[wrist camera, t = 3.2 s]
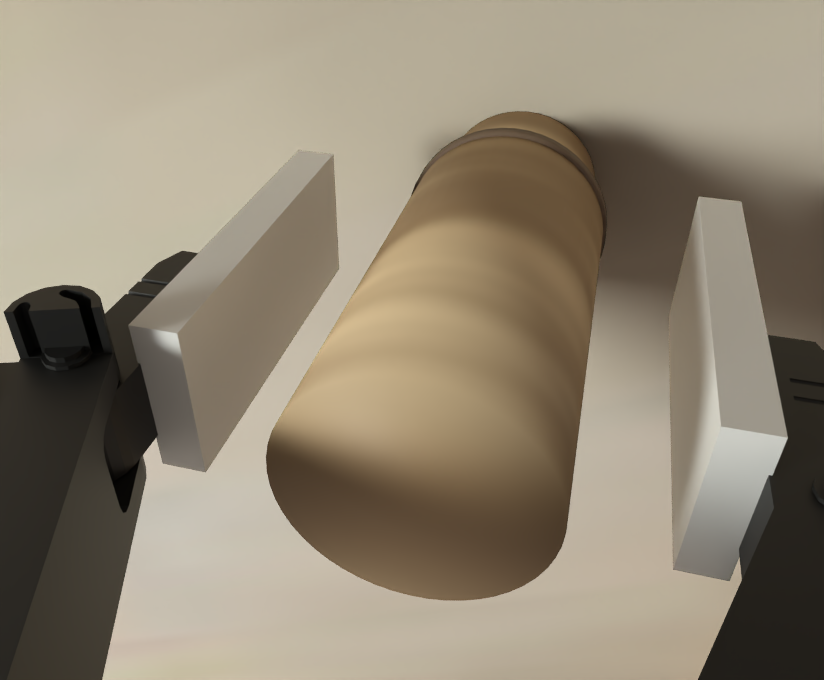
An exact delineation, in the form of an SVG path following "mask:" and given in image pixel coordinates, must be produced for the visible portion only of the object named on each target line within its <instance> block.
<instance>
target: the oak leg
mask: <svg viewBox="0 0 824 680" xmlns="http://www.w3.org/2000/svg"><path fill="white" fill-rule="evenodd" d="M606 229H607V213H606V207H605V202H604V198H603V195H602V192H601V189H600V187H599V185H598V183H597V181H596V179H595V173H594V168H593V164H592V161H591V158H590V156H589V154H588V152H587V150H586V148H585V147H584V145H583V144H582V142H581V141H580V139H579V138H578V137H577V136H576V135H575V134H574V133H573V132H572V131H571V130H569V129H568V128H567V127H566V126H564V125H563V124H561V123H559V122H558V121H556V120H554V119H552V118H549V117H547V116H544V115H541V114H537V113H531V112H518V111H517V112H507V113H502V114H498V115H495V116H492V117H490V118H487V119H485V120H483V121H482V122H480V123H478V124H477V125H475V126H474V127H473V128H471V129H470V130H469V131H468V132H467V133H466V134H465V135H464V136H462V137H460V138H458V139H457V140H455V141H453V142H451V143H450V144H448V145H447V146H446V147H444V148H443V149H441V150H440V151H439V152H438V153H437V154H436V155H435V156H434V157H433V158H432V159H431V161H430V162H429V163H428V165H427V166H426V167H425V169H424V170H423V172H422V174H421V175H420V177H419V179H418V181H417V182H416V185H415V187H414V190H413V192H412V195H411V198H410V200H409V201H408V203H407V205H406V206H405V208H404V210H403V211H402V213H401V215H400V216H399V218H398V220H397V221H396V223H395V225H394V226H393V228H392V230H391V231H390V233H389V235H388V236H387V238H386V240H385V241H384V243H383V245H382V247H381V248H380V250H379V252H378V253H377V255H376V257H375V258H374V260H373V262H372V263H371V265H370V267H369V268H368V270H367V272H366V273H365V275H364V277H363V278H362V280H361V282H360V283H359V285H358V287H357V288H356V290H355V292H354V294H353V295H352V297H351V299H350V300H349V302H348V304H347V305H346V307H345V309H344V310H343V312H342V314H341V315H340V317H339V319H338V320H337V322H336V324H335V325H334V327H333V329H332V330H331V332H330V334H329V336H328V337H327V339H326V341H325V342H324V344H323V346H322V347H321V349H320V351H319V352H318V354H317V356H316V357H315V359H314V361H313V362H312V364H311V366H310V367H309V369H308V371H307V372H306V374H305V376H304V377H303V379H302V381H301V383H300V384H299V386H298V388H297V389H296V391H295V393H294V394H293V396H292V398H291V399H290V401H289V403H288V404H287V406H286V408H285V409H284V411H283V413H282V414H281V416H280V418H279V419H278V421H277V423H276V425H275V427H274V428H273V430H272V433H271V436H270V439H269V442H268V446H267V454H266V464H267V474H268V478H269V483H270V486H271V489H272V492H273V494H274V497H275V499H276V501H277V503H278V505H279V506H280V508H281V510H282V512H283V513H284V515H285V516H286V518H287V519H288V520H289V522H290V523H291V525H292V526H293V527H294V528H295V529H296V530H297V531H298V533H299V534H300V535H301V536H302V537H303V538H304V539H305V540H306V541H307V542H308V543H309V544H310V545H311V546H313V547H314V548H315V549H316V550H317V551H319V552H320V553H321V554H322V555H324V556H325V557H326V558H328V559H329V560H331V561H332V562H334V563H335V564H337V565H338V566H340V567H341V568H343V569H345V570H346V571H348V572H350V573H352V574H354V575H356V576H357V577H360V578H362V579H364V580H366V581H368V582H371V583H373V584H375V585H378V586H381V587H384V588H387V589H389V590H392V591H396V592H400V593H403V594H407V595H411V596H417V597H422V598H428V599H438V600H474V599H482V598H488V597H493V596H497V595H500V594H504V593H507V592H510V591H512V590H515V589H517V588H519V587H522V586H524V585H525V584H527V583H529V582H530V581H532V580H533V579H535V578H536V577H538V576H539V575H540V574H541V573H542V572H543V571H545V570H546V569H547V568H548V566H549V565H550V564H551V563H552V562H553V560H554V559H555V558H556V556H557V554H558V552H559V550H560V549H561V547H562V544H563V541H564V538H565V534H566V530H567V521H568V513H569V505H570V497H571V489H572V481H573V473H574V465H575V457H576V449H577V440H578V432H579V424H580V416H581V408H582V400H583V392H584V384H585V376H586V368H587V359H588V351H589V343H590V335H591V327H592V319H593V311H594V303H595V295H596V287H597V278H598V270H599V262H600V258H601V255H602V252H603V248H604V244H605V238H606Z"/></svg>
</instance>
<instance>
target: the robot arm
mask: <svg viewBox="0 0 824 680" xmlns="http://www.w3.org/2000/svg"><path fill="white" fill-rule="evenodd" d="M338 269H339V257H338V237H337V217H336V198H335V178H334V158H333V154H328V153H319V152H310V151H302V150H298V151H297V152H296V153H295V154H294V155H293V156H292V158H291V159H290V160H289V161H288V162H287V163H286V164H285V165H284V166H283V167H282V168H281V169H280V170H279V171H278V172H277V173H276V174H275V175H274V176H273V177H272V178H271V179H270V180H269V181H268V182H267V183H266V184H265V185H264V186H263V187H262V188H261V189H260V190H259V191H258V192H257V193H256V194H255V196H254V197H253V198H252V199H251V200H250V201H249V202H248V203H247V204H246V205H245V206H244V207H243V208H242V209H241V210H240V211H239V212H238V213H237V214H236V215H235V216H234V217H233V218H232V219H231V220H230V221H229V222H228V223H227V224H226V225H225V226H224V227H223V228H222V229H221V230H220V231H219V232H218V234H217V235H216V236H215V237H214V238H213V239H212V240H211V241H210V242H209V243H208V244H207V245H206V246H205V247H204V248H203V249H202V250H201V251H200V252H199V253H193V252H186V251H181V252H179V253H177V254H175V255H173V256H171V257H169V258H167V259H165V260H163V261H161V262H159V263H157V264H156V265H155V266H154V267H153V268H152V269H151V270H150V271H149V272H148V273H147V274H146V275H145V276H144V277H143V278H142V281H141V282H138V283H137V284H136V285H135V286H134V287H132V288H131V289H130V290H129V294H128V295H127V294H125V295H124V296H123V297H122V298H121V299H120V300H119V301H118V302H117V303H116V304H115V305H114V306H113V307H112V308H111V309H110V310H109V311H108V312H107V313H105V314H104V310H103V306H102V303H101V299H100V297H99V296H98V295H97V294H96V293H95V292H94V291H93V290H90V289H88V288H85V287H82V286H70V285H61V286H54V287H47V288H43V289H40V290H37V291H34V292H31V293H28V294H26V295H24V296H23V297H21V298H19V299H18V300H16V301H14V302H13V303H12V304H11V305H10V306H9V307H8V308H7V309H6V310H5V311H4V314H5V317H6V320H7V323H8V325H9V328H10V331H11V334H12V337H13V339H14V342H15V345H16V348H17V350H18V353H19V356H20V361H19V362H14V363H0V680H102V677H103V673H104V668H105V664H106V659H107V654H108V650H109V645H110V641H111V636H112V632H113V627H114V623H115V618H116V613H117V609H118V604H119V600H120V595H121V591H122V586H123V581H124V577H125V572H126V568H127V563H128V559H129V554H130V550H131V545H132V540H133V536H134V531H135V527H136V522H137V518H138V513H139V508H140V504H141V499H142V495H143V490H144V486H145V481H146V466H145V462H144V459H143V454H144V453H145V451H146V450H147V449H148V447H149V446H150V445H151V443H152V442H153V441H154V440H155V438H157V442H158V446H159V450H160V454H161V458H162V462H163V464H168V465H173V466H178V467H183V468H188V469H192V470H197V471H202V472H206V471H207V470H208V468H209V467H210V465H211V463H212V462H213V460H214V459H215V457H216V456H217V454H218V453H219V451H220V450H221V448H222V447H223V445H224V444H225V442H226V441H227V439H228V438H229V436H230V434H231V433H232V431H233V430H234V428H235V427H236V425H237V424H238V422H239V421H240V419H241V418H242V416H243V415H244V413H245V412H246V410H247V408H248V407H249V405H250V404H251V402H252V401H253V399H254V398H255V396H256V395H257V393H258V392H259V390H260V389H261V387H262V386H263V384H264V383H265V381H266V379H267V378H268V376H269V375H270V373H271V372H272V370H273V369H274V367H275V366H276V364H277V363H278V361H279V360H280V358H281V357H282V355H283V353H284V352H285V350H286V349H287V347H288V346H289V344H290V343H291V341H292V340H293V338H294V337H295V335H296V334H297V332H298V331H299V329H300V328H301V326H302V324H303V323H304V321H305V320H306V318H307V317H308V315H309V314H310V312H311V311H312V309H313V308H314V306H315V305H316V303H317V302H318V300H319V298H320V297H321V295H322V294H323V292H324V291H325V289H326V288H327V286H328V285H329V283H330V282H331V280H332V279H333V277H334V276H335V274H336V273H337V271H338ZM669 371H670V424H671V477H672V531H673V570H678V571H683V572H688V573H693V574H697V575H702V576H707V577H712V578H717V579H721V580H726V581H730V578H731V576H732V574H733V571H734V569H735V566H736V564H737V561H738V559H739V556H740V565H741V575H742V581H741V584H740V586H739V588H738V590H737V593H736V595H735V597H734V599H733V602H732V604H731V606H730V608H729V611H728V613H727V615H726V617H725V620H724V622H723V624H722V626H721V629H720V631H719V633H718V636H717V638H716V640H715V642H714V645H713V647H712V649H711V651H710V654H709V656H708V658H707V660H706V663H705V665H704V667H703V669H702V672H701V674H700V676H699V678H698V680H824V351H823V350H822V349H821V348H820V347H819V345H818V344H817V343H816V342H811V341H804V340H797V339H791V338H784V337H777V336H770V335H767V330H766V324H765V319H764V314H763V309H762V304H761V299H760V294H759V289H758V284H757V279H756V274H755V269H754V263H753V258H752V253H751V248H750V243H749V238H748V233H747V228H746V223H745V218H744V213H743V208H742V203H741V201H733V200H725V199H716V198H707V197H698V201H697V205H696V209H695V213H694V217H693V221H692V225H691V229H690V233H689V237H688V241H687V245H686V249H685V253H684V257H683V261H682V265H681V269H680V273H679V277H678V281H677V285H676V289H675V293H674V297H673V301H672V305H671V309H670V313H669Z"/></svg>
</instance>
